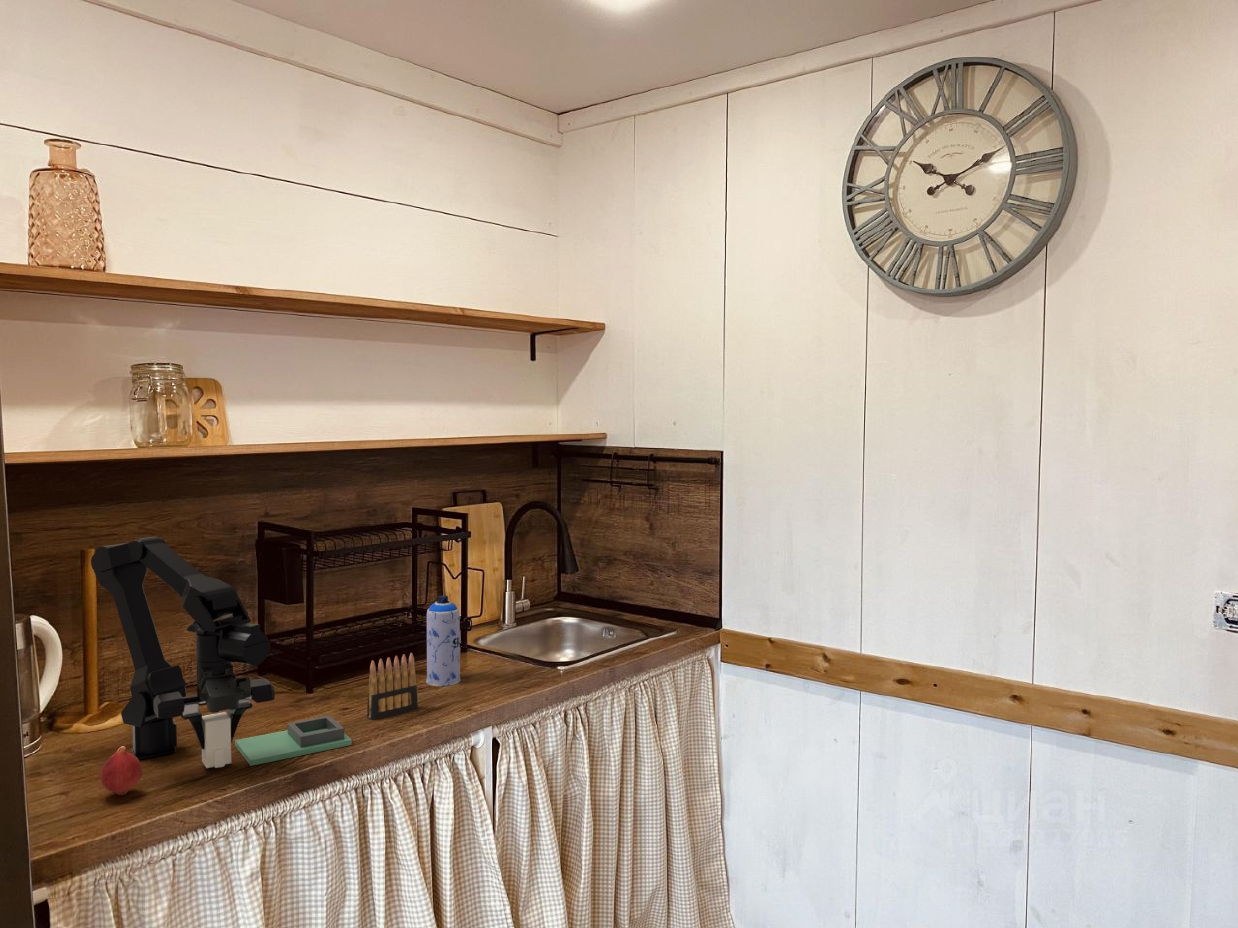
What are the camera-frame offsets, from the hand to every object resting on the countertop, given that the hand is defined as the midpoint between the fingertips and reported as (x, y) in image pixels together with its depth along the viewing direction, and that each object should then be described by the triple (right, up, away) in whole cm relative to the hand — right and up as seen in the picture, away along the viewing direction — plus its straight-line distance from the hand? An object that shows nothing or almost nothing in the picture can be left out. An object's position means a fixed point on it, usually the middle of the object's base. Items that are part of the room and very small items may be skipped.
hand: (216, 745), depth 157 cm
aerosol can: (+30, -1, +52) cm, 60 cm away
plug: (0, -3, 0) cm, 3 cm away
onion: (-10, -5, -12) cm, 16 cm away
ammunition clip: (+24, -3, +29) cm, 38 cm away
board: (+10, -3, +11) cm, 15 cm away
